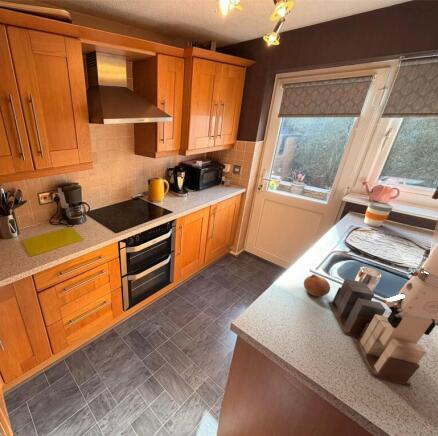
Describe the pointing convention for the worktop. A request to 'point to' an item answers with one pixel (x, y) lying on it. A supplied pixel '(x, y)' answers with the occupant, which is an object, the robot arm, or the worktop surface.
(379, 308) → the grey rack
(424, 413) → the worktop surface
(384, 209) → the reusable coffee cup
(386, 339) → the cream book
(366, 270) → the beer glass
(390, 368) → the cream rack
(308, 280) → the onion
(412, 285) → the robot arm
